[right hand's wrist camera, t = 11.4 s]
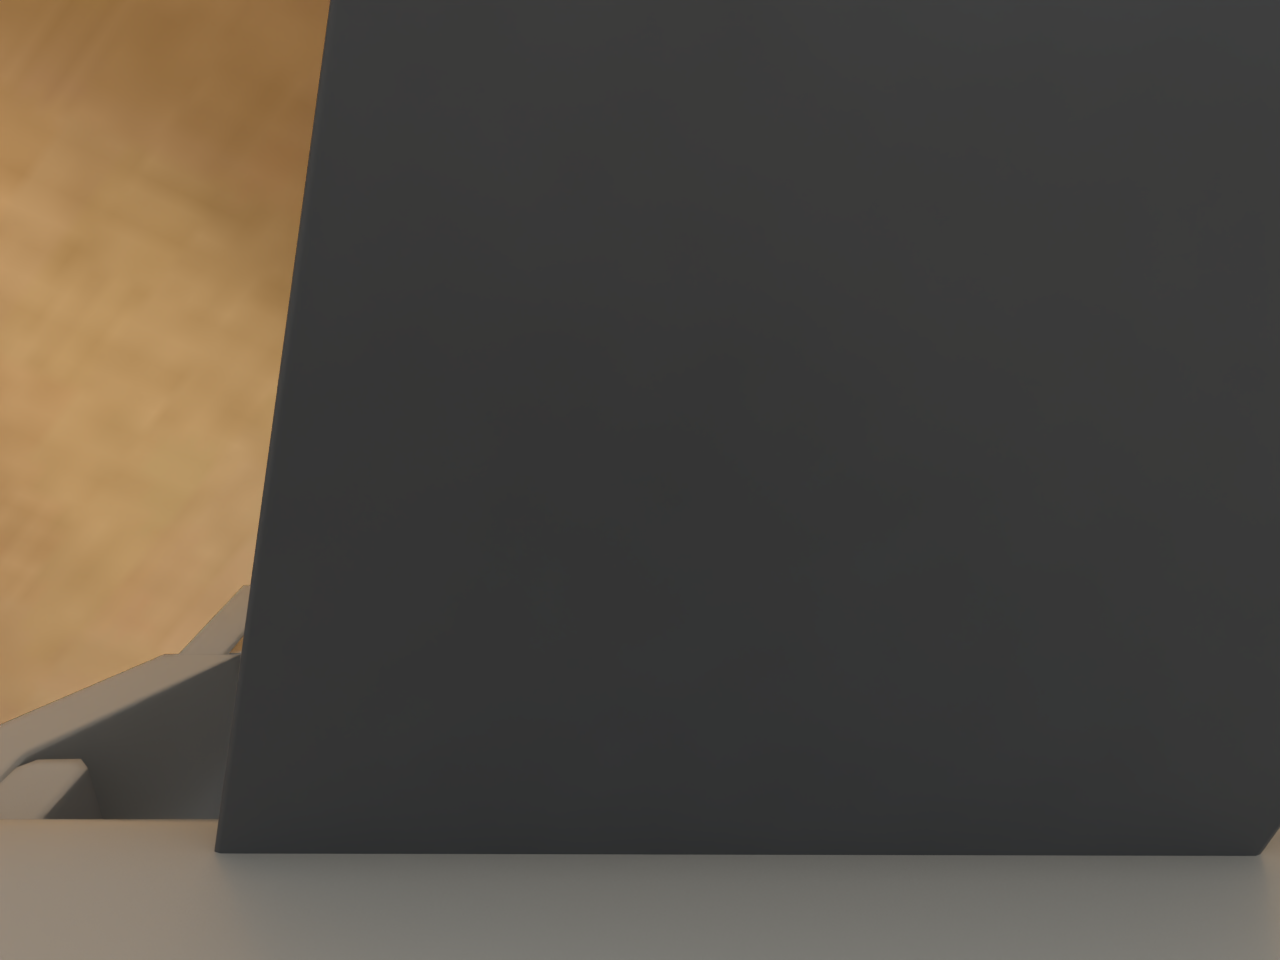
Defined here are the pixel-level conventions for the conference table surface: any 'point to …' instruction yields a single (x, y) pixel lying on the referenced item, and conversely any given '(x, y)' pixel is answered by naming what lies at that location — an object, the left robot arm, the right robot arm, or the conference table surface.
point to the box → (775, 435)
